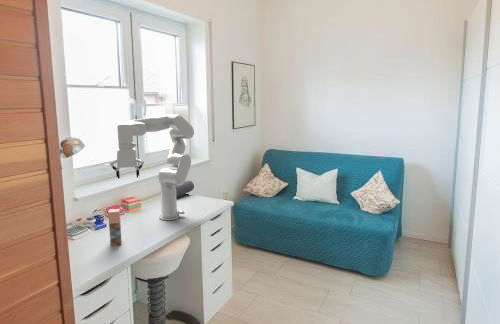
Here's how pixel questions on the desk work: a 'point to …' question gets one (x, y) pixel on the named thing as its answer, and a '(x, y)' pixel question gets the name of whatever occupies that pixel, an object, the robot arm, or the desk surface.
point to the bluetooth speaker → (184, 188)
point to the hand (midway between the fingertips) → (128, 177)
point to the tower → (115, 234)
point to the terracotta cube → (114, 216)
